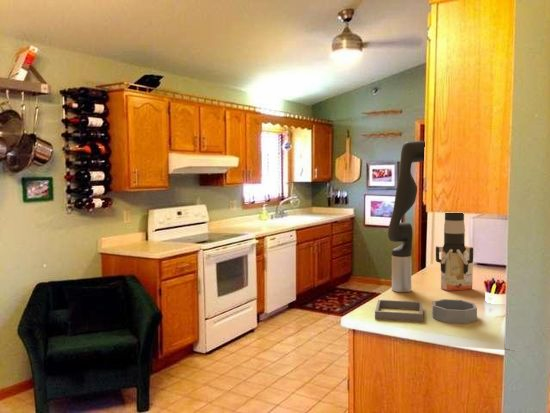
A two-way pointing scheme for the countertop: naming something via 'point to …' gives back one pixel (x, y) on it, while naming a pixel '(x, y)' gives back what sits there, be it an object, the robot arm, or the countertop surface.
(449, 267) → the skincare box
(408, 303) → the parts tray
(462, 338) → the countertop surface
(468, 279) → the cracker box
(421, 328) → the countertop surface
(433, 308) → the ceramic bowl
